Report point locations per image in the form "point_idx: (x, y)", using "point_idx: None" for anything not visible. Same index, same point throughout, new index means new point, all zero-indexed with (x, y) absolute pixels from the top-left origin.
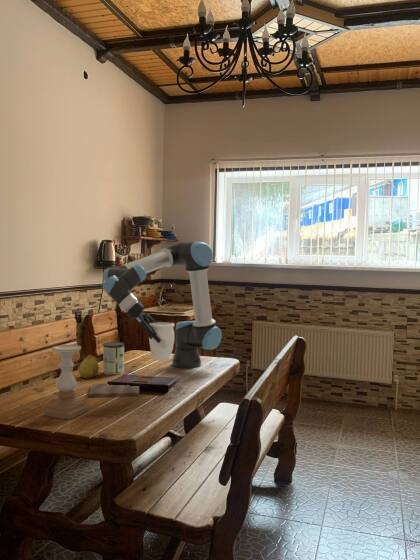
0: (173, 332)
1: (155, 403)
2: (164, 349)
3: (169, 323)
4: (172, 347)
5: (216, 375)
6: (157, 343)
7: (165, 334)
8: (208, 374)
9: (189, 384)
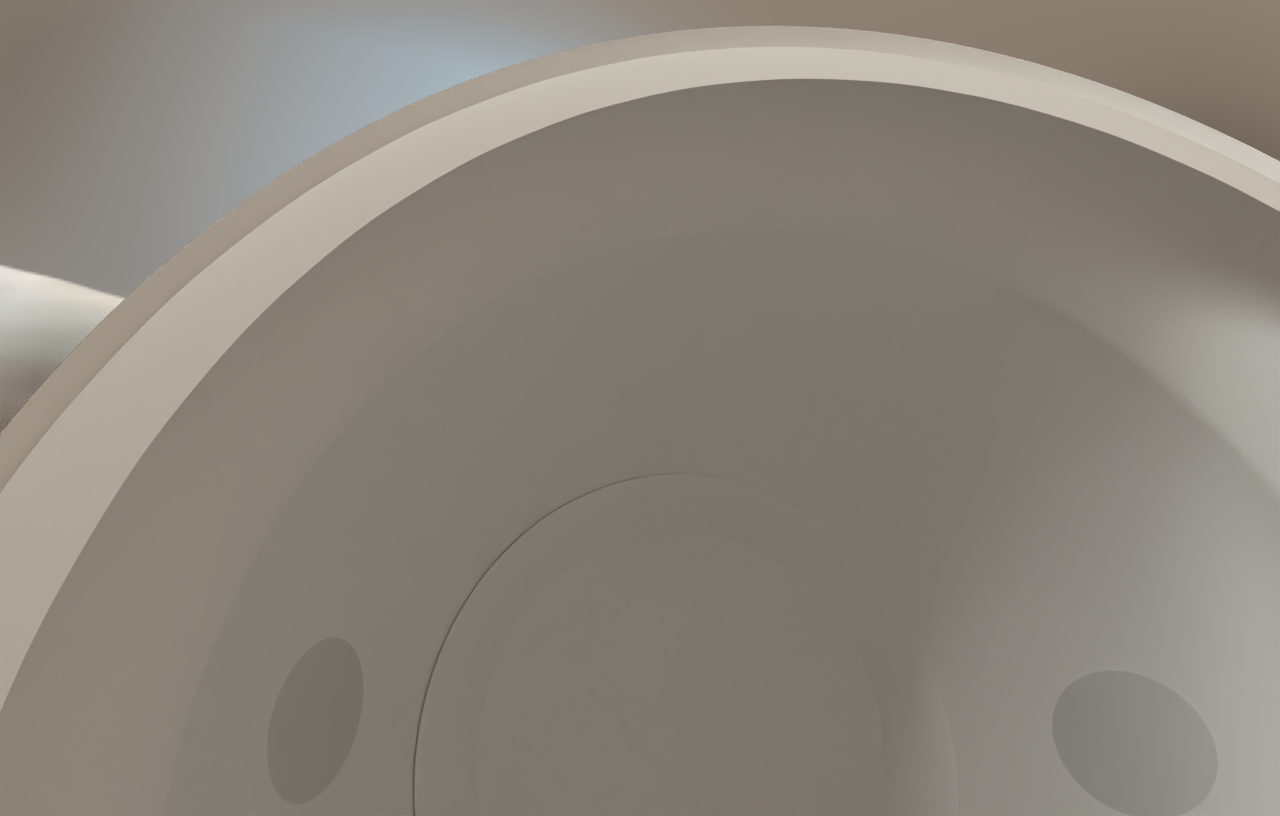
0: (808, 296)
1: None
2: (895, 628)
3: (255, 275)
4: (729, 487)
5: (106, 304)
6: (1047, 800)
7: (1130, 515)
8: (47, 362)
9: None
